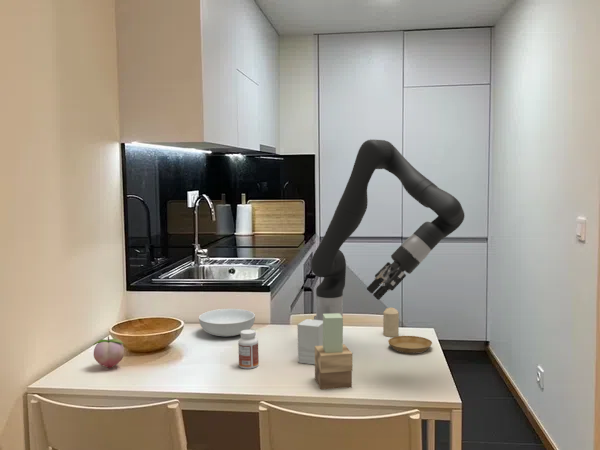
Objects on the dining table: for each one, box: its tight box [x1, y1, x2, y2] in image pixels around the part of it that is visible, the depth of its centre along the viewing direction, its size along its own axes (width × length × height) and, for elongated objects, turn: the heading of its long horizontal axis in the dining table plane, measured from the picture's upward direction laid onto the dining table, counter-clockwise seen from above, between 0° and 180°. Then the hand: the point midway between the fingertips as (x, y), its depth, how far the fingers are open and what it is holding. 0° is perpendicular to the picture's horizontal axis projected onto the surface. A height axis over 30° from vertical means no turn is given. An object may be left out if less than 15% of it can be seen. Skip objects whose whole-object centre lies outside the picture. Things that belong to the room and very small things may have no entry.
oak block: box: [315, 343, 353, 373], centre depth 175 cm, size 9×9×5 cm
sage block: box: [323, 313, 344, 353], centre depth 174 cm, size 5×5×10 cm
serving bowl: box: [198, 308, 256, 338], centre depth 226 cm, size 21×21×7 cm
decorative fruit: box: [93, 336, 125, 369], centre depth 190 cm, size 9×8×10 cm
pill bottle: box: [237, 329, 260, 370], centre depth 190 cm, size 6×6×11 cm
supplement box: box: [296, 318, 323, 366], centre depth 195 cm, size 7×7×13 cm
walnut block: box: [314, 364, 353, 390], centre depth 176 cm, size 9×9×5 cm
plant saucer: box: [387, 335, 433, 354], centre depth 207 cm, size 15×15×3 cm
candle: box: [382, 307, 400, 338], centre depth 222 cm, size 6×6×10 cm
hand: (372, 294), depth 175 cm, fingers open, 8 cm apart
